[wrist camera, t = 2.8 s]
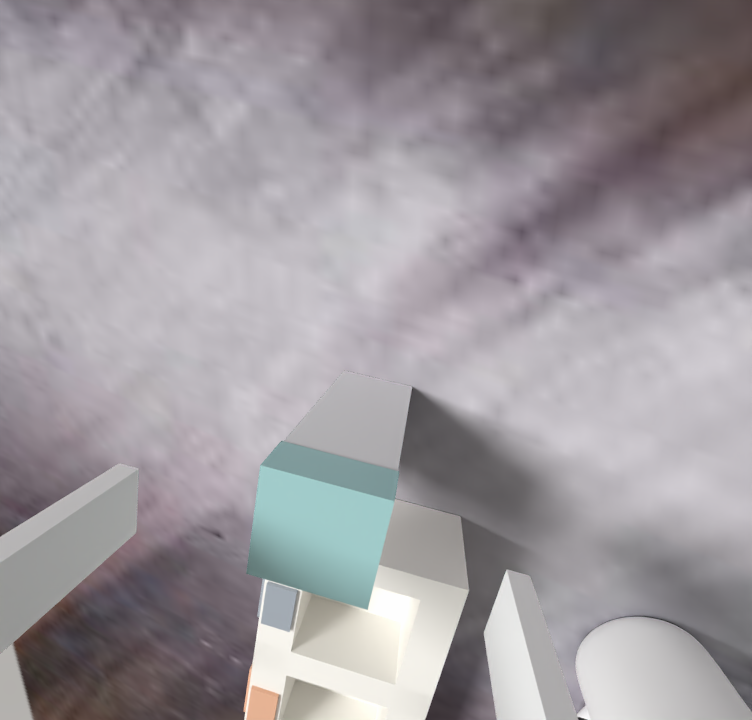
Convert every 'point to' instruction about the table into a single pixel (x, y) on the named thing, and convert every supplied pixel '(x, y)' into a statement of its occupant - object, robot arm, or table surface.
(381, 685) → the socket box
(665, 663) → the mug
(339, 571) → the plug
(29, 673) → the table surface
